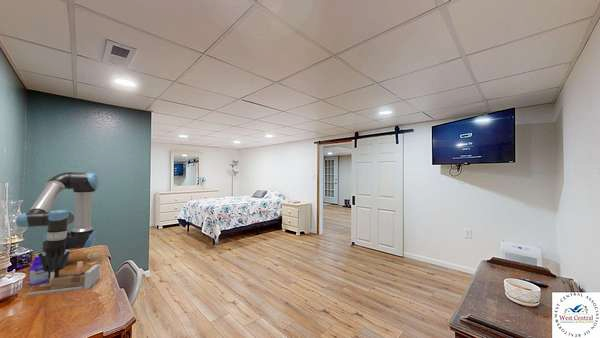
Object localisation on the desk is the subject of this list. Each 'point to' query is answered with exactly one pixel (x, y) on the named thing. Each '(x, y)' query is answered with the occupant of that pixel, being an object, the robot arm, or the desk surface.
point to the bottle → (37, 272)
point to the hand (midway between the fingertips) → (52, 283)
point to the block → (67, 281)
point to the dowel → (79, 268)
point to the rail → (90, 279)
